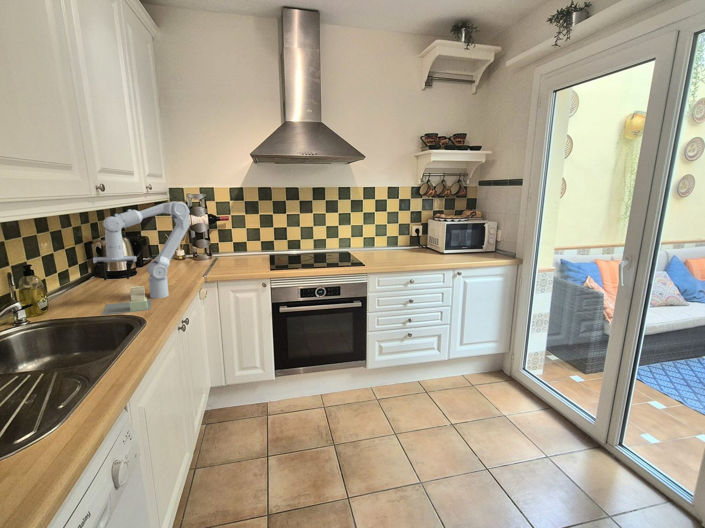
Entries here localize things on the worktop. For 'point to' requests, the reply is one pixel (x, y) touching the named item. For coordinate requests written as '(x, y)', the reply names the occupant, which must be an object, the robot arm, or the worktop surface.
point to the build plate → (121, 308)
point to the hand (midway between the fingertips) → (116, 279)
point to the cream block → (137, 294)
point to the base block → (138, 305)
